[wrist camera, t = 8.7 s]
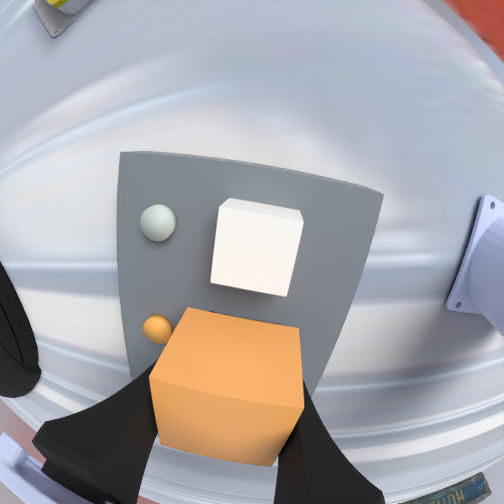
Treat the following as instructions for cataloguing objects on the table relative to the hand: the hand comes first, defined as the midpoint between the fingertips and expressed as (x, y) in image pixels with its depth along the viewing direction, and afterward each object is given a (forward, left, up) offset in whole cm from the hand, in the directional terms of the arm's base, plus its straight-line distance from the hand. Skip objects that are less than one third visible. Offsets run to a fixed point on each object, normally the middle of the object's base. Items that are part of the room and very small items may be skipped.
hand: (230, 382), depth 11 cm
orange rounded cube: (0, 0, -2) cm, 2 cm away
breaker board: (+1, 0, -5) cm, 5 cm away
